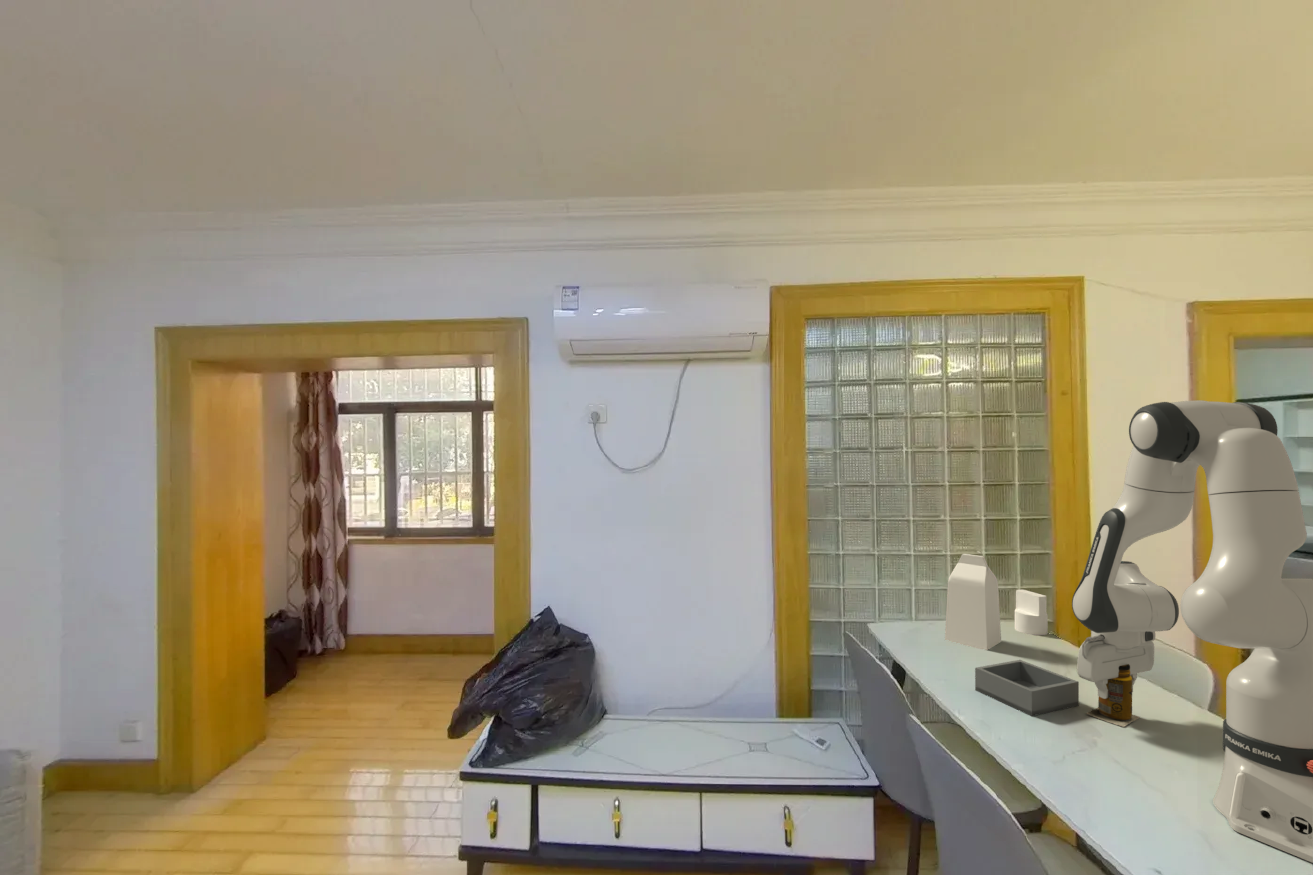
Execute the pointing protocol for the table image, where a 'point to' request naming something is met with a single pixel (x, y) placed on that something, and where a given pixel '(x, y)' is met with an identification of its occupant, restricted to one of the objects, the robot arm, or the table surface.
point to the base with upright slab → (1031, 613)
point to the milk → (973, 604)
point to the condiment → (1117, 700)
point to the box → (1027, 687)
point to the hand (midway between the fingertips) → (1115, 694)
